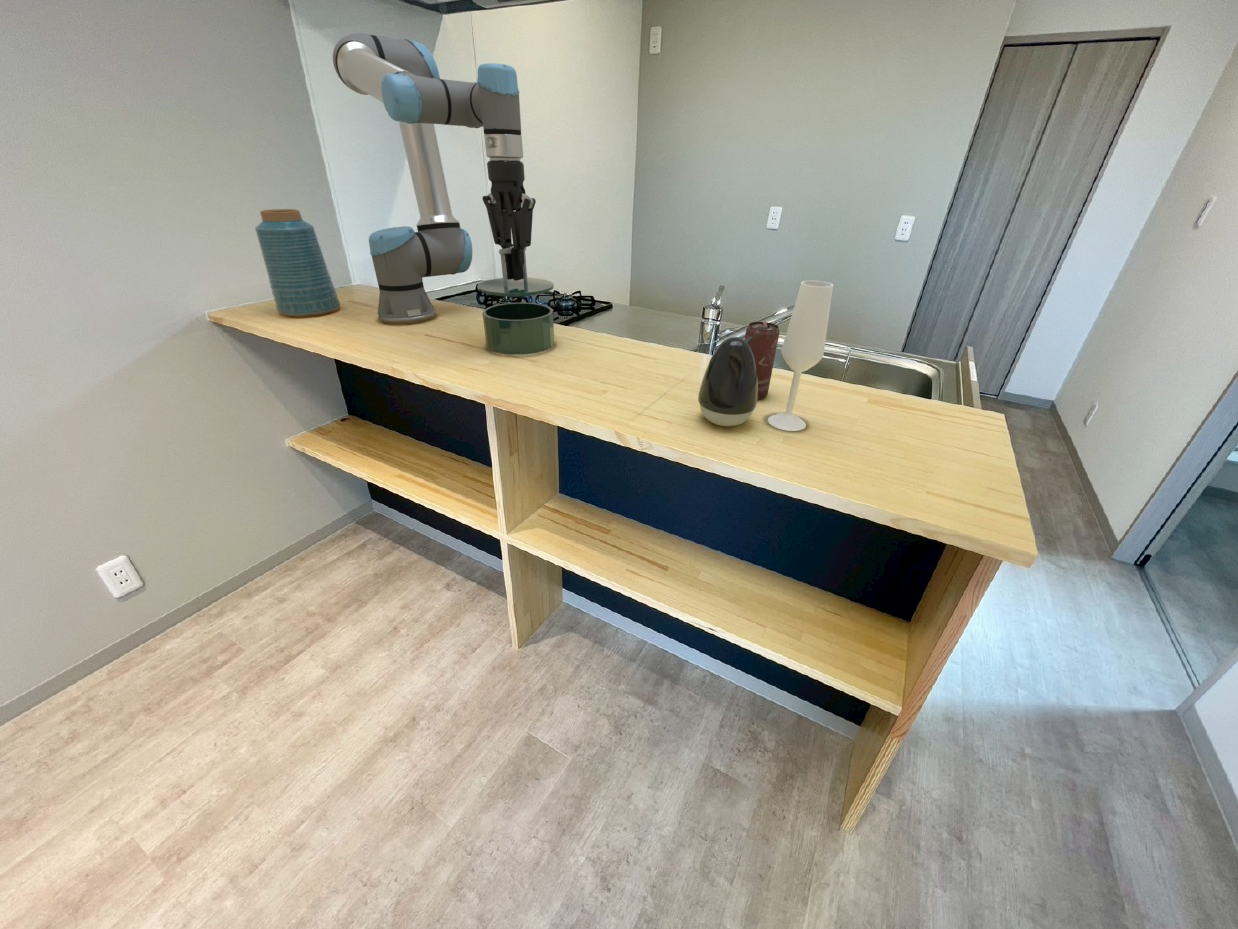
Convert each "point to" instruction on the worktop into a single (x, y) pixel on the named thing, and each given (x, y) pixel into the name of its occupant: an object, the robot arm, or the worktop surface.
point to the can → (763, 352)
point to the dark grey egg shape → (730, 383)
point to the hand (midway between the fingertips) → (515, 278)
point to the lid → (514, 282)
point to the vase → (295, 265)
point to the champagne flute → (804, 343)
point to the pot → (519, 328)
